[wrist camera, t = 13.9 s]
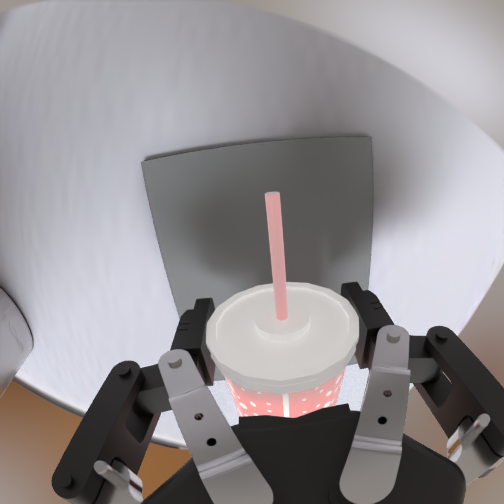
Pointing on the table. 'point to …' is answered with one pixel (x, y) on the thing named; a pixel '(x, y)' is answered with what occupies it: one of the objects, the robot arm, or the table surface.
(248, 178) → the mat
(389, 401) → the robot arm
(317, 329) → the beverage cup
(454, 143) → the table surface
